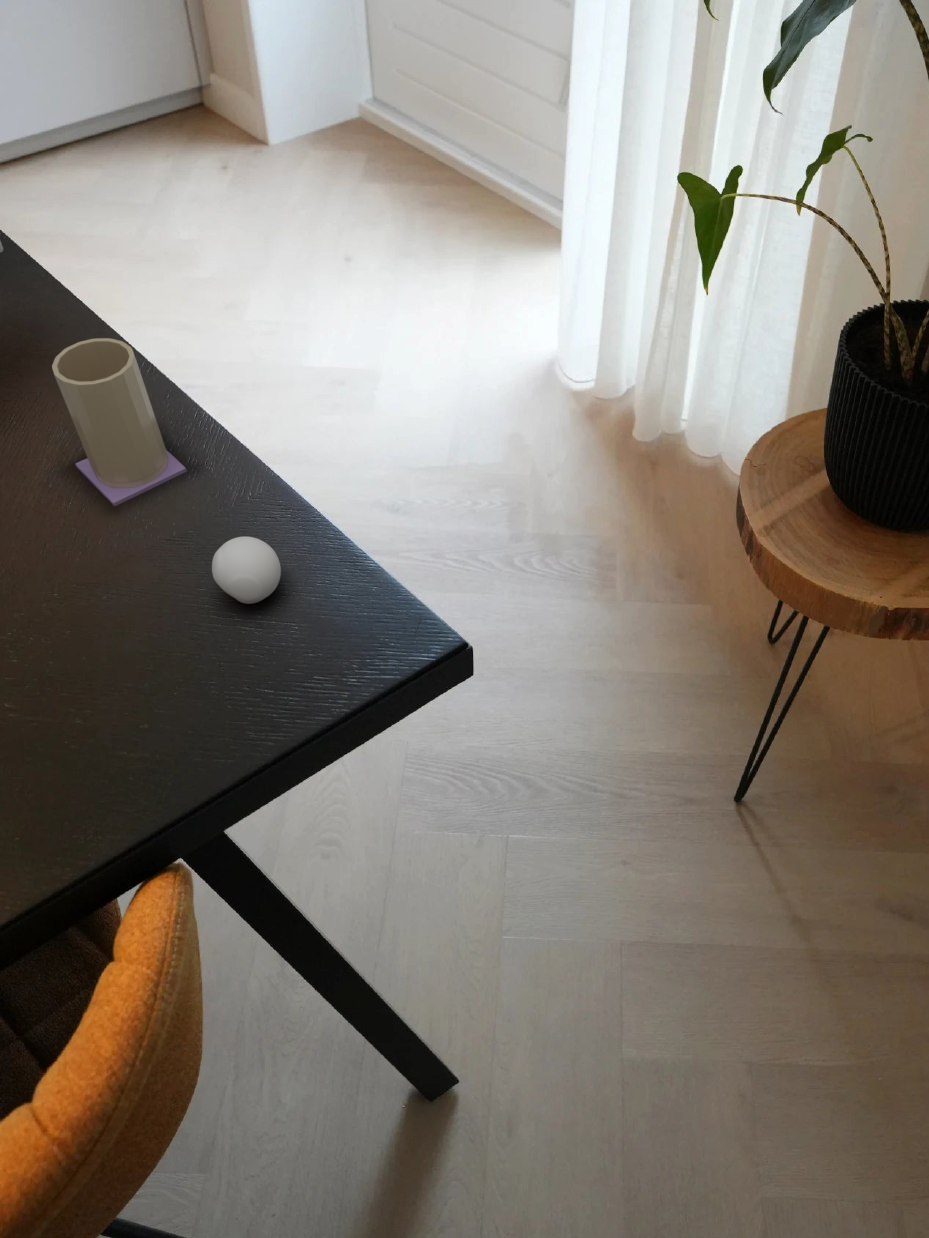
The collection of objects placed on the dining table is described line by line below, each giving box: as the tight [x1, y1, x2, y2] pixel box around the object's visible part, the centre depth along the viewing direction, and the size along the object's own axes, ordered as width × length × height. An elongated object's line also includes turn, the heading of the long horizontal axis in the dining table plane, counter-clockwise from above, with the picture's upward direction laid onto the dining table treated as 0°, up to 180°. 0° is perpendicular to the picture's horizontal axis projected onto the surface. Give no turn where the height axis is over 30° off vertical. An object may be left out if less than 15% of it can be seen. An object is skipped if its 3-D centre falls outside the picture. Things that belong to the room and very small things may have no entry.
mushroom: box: [211, 536, 282, 605], centre depth 83 cm, size 5×5×5 cm
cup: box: [51, 337, 168, 488], centre depth 90 cm, size 6×6×10 cm
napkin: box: [75, 449, 188, 507], centre depth 94 cm, size 7×7×1 cm
